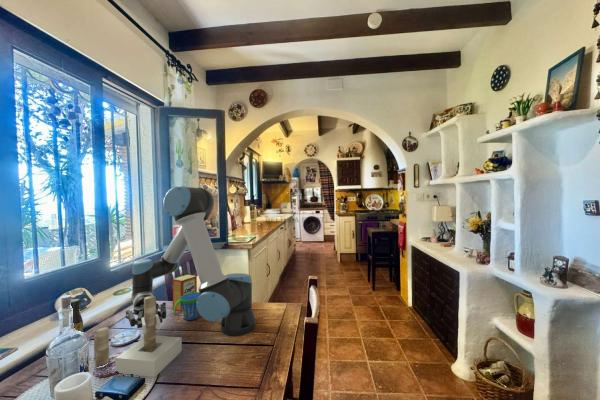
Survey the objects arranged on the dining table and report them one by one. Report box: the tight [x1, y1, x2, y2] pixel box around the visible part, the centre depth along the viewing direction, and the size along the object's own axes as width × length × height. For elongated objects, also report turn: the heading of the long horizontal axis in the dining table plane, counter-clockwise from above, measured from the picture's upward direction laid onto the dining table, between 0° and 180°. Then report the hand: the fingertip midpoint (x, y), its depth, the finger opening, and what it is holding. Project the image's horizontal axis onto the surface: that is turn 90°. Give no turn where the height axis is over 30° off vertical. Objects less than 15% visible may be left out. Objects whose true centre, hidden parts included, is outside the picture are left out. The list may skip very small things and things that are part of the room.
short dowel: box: [93, 334, 96, 360], centre depth 90 cm, size 4×4×8 cm
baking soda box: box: [172, 274, 198, 313], centre depth 132 cm, size 10×6×16 cm
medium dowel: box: [95, 326, 110, 368], centre depth 85 cm, size 4×4×12 cm
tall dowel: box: [143, 295, 157, 352], centre depth 87 cm, size 4×4×18 cm
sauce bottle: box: [70, 298, 84, 333], centre depth 90 cm, size 6×6×20 cm
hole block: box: [114, 335, 183, 378], centre depth 87 cm, size 14×14×5 cm
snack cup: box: [173, 291, 201, 321], centre depth 120 cm, size 16×10×10 cm
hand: (151, 327), depth 83 cm, fingers closed on tall dowel, 3 cm apart
